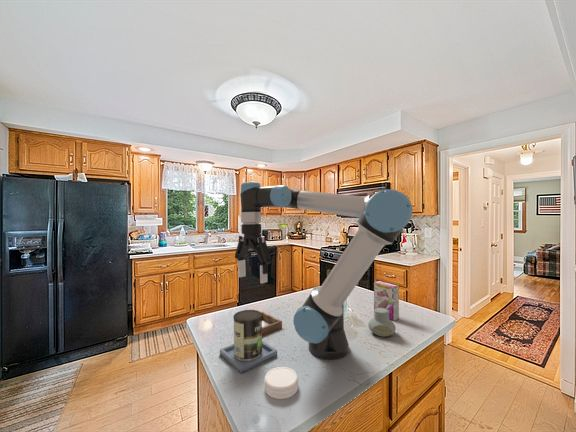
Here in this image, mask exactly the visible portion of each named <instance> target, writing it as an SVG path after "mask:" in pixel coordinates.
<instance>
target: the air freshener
mask: <svg viewBox="0 0 576 432" xmlns="http://www.w3.org/2000/svg"><path fill="white" fill-rule="evenodd" d="M373 314H374V315H373V318H371V319H370V320H369V321H368V328H369V331H371V332H372V333H373V334H375V335H377V336H379V337H381V338H385V337H390V336H392V335H393V334H394V333H395V332H396V324H395V323H394V321H392V320H389V311H388V310H387V309H385V308H376V309H374V308H373Z"/></svg>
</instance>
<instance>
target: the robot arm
mask: <svg viewBox="0 0 576 432" xmlns="http://www.w3.org/2000/svg"><path fill="white" fill-rule="evenodd" d="M239 196H240V207H241V208H240V223H241V225H240V227H241V231H240V232H241V234H242V235H238V241H237V242H238V243H237V246H236V249H235V254H234V258H235V259H237V261H238V265H237V267H238V278H243V277H244V278H245V277H246V275H247V274H246V273H247V271H246V268H247V267H246V255H247V254H248V252H249V249H252V250H253V251H254V252H255V255H257V258H258V259H259V262H260V265H259V282H260V284H266V283H268V273H269V264H272V263H273V259H272V257H271V253H270V251H269V248H268V245H267V238H266V236H260V235H261V234H262V224H261V222H262V208H288V209H295V210H296V209H297V210H304V211H310V212H319V213H324V214H332V215H339V216H345V217H352V218H359V219H358V220H357V222H356V223H357V226H358V230H357V231H356V232H355V234H354V235H353V236H352V239H351V240H350V242H349V243H348V245H347V246H346V248H344V250H343V252H342V254H341V255H340V257H339V259H338V260H337V261H336V263H335V264H334V266H333V268H332V269H331V270H330V272H329V273H328V275H327V277H326V278H325V279H324V281H323V283H322V284H321V286H315V287H313V288H312V291H311V292H310V294H309V295H308V297H307V299H306V300H305V301H304V303H303V304H302V306H301V307H299V308H298V309H297V310H296V312H295V313H294V315H293V326H294V330H295V332H296V333H297V335H298V336H299V337H300V338H301V339H302V340H303V341H305V342H307V343H308V351H310V353H311V354H312V355H313V356H316V357H317V358H321V359H325V360H339V359H343V358H344V357H345V356H347V355H348V354H349V351H350V347H349V345H350V343H349V341H348V339H347V335H346V332H345V327H344V326H345V325H344V323H345V321H344V320H345V318H344V303H345V302H346V300H347V299H348V297H349V296H350V295H351V293H352V292H353V291H354V289H355V288H356V286H357V285H358V283H359V282H360V280H361V279H362V278H363V276H364V275H365V273H366V272H367V270H369V268H370V267H371V265H372V263H373V262H374V261H375V259H376V258H377V256H378V255H379V254H380V253H381V250H382V249H383V248H384V246H387V245H393V243H394V242H395V240H396V239H397V238H398V237H399V235H400V234H401V232H402V231H403V229H404V228H405V227H406V226H407V225H408V224H409V222H410V221H411V219H412V216H413V204H412V202H411V200H410V198H409V197H408V196H407V195H406V194H404V193H403V192H402V191H399V190H397V189H393V188H392V189H390V188H388V189H382V190H380V191H377V192H375V193H374V194H372V193H371V194H368V195H367V196H362V195H361V196H360V195H352V194H351V195H350V194H342V193H341V194H340V193H332V192H331V193H330V192H321V191H311V190H301V189H291V188H289V187H288V186H287V185H285V184H284V185H282V184H281V185H280V184H279V185H278V184H277V185H271V186H261V183H260V182H258V181H256V182H255V181H248V182H242V183H241V184H240V194H239Z"/></svg>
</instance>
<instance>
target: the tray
mask: <svg viewBox="0 0 576 432" xmlns="http://www.w3.org/2000/svg"><path fill="white" fill-rule="evenodd" d="M219 356H220V357H222V358H223V359H224V360H225V361H226V362H227V363H228V364H230V365H231V367H233V368H234V369H235V370H236V371H237V372H239V373H240V374H241V375H242V374H244V373H246V372H249V370H252V369H254V368H256V367H258V366H260V365H262V364H264V363H266V362H268V361H270V360H272V359H274V358H276V357H277V356H278V349H275V347H273V346H271V345H269V344H268V343H266V342H264V340H262V355H261V356H260V357H258V358H256V359H254V360H252V361H240V360H238V359H236V358H235V356H234V343H233V344H230V345H228V346H224V347H223V348H220V349H219Z"/></svg>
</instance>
